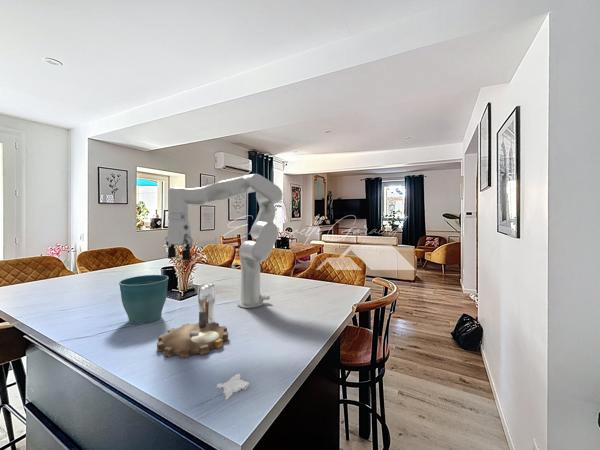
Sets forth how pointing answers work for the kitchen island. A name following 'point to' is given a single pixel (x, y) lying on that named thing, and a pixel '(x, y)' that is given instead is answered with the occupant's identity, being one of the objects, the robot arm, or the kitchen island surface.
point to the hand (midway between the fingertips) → (178, 258)
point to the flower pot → (144, 297)
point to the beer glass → (207, 300)
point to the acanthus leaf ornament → (233, 385)
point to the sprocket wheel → (192, 338)
